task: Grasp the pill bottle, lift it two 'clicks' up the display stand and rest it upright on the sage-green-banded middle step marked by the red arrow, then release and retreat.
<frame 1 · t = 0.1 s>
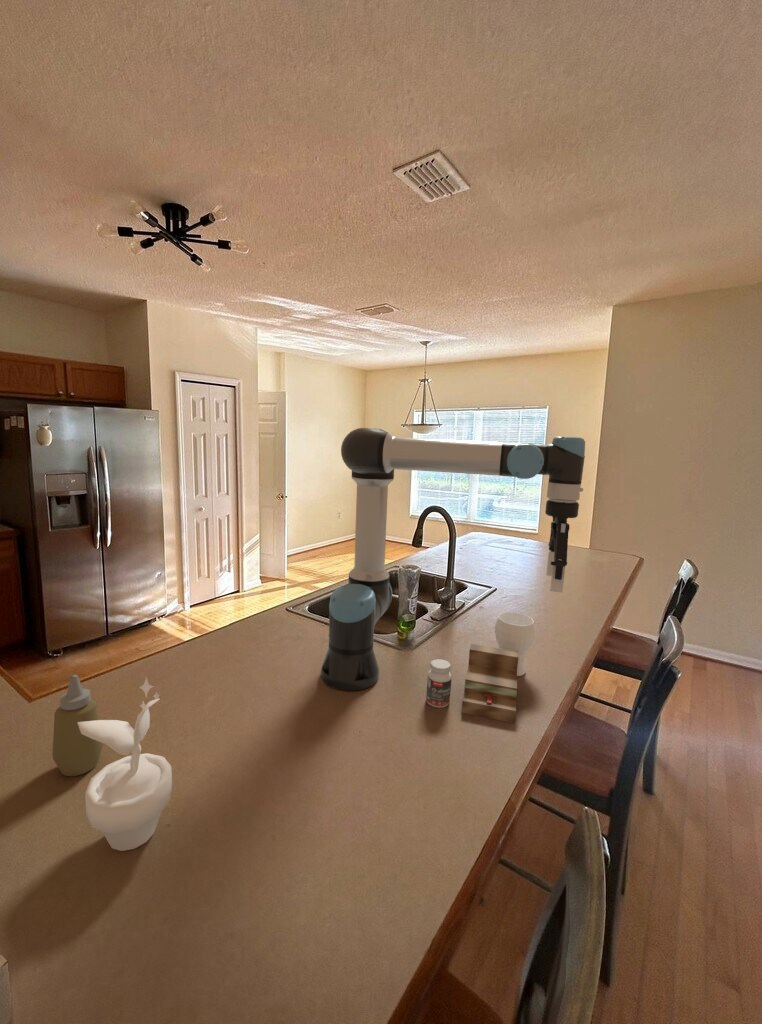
hand: (553, 583, 117), 28 cm above the counter, fingers open, 13 cm apart
display stand: (489, 699, 114), on the counter
pill bottle: (437, 702, 112), on the counter
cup: (511, 670, 129), on the counter
squeeze bottle: (80, 766, 86), on the counter
potted plant: (129, 835, 72), on the counter
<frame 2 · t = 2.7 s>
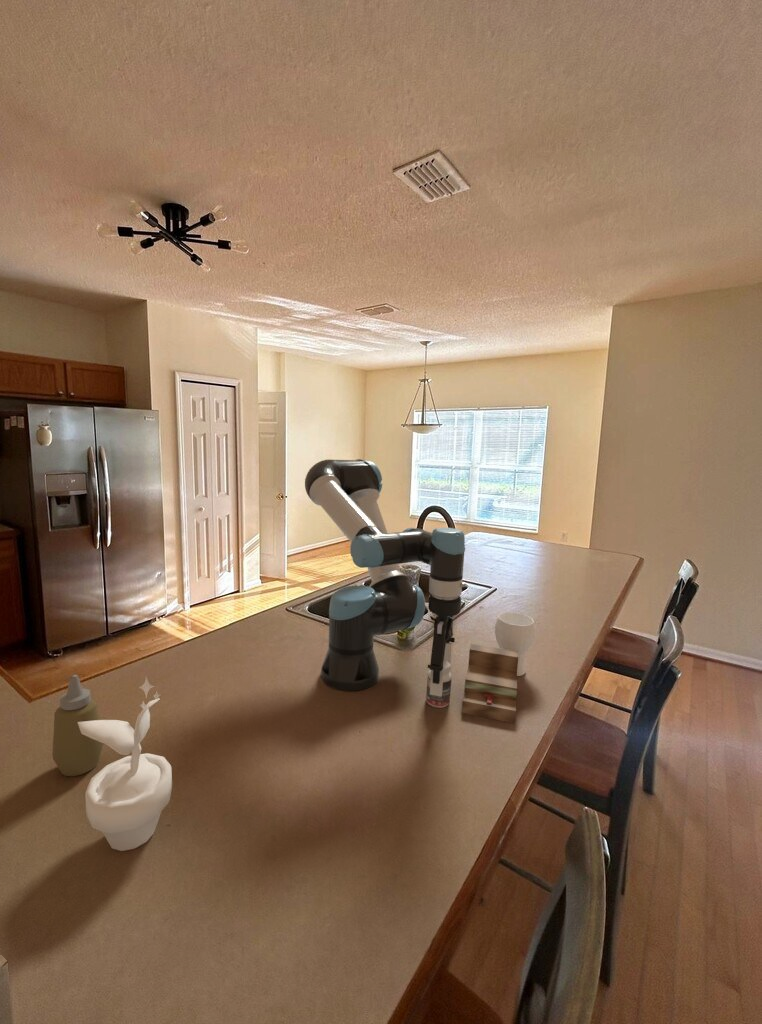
hand: (440, 680, 110), 6 cm above the counter, fingers open, 13 cm apart
nothing on the counter moved.
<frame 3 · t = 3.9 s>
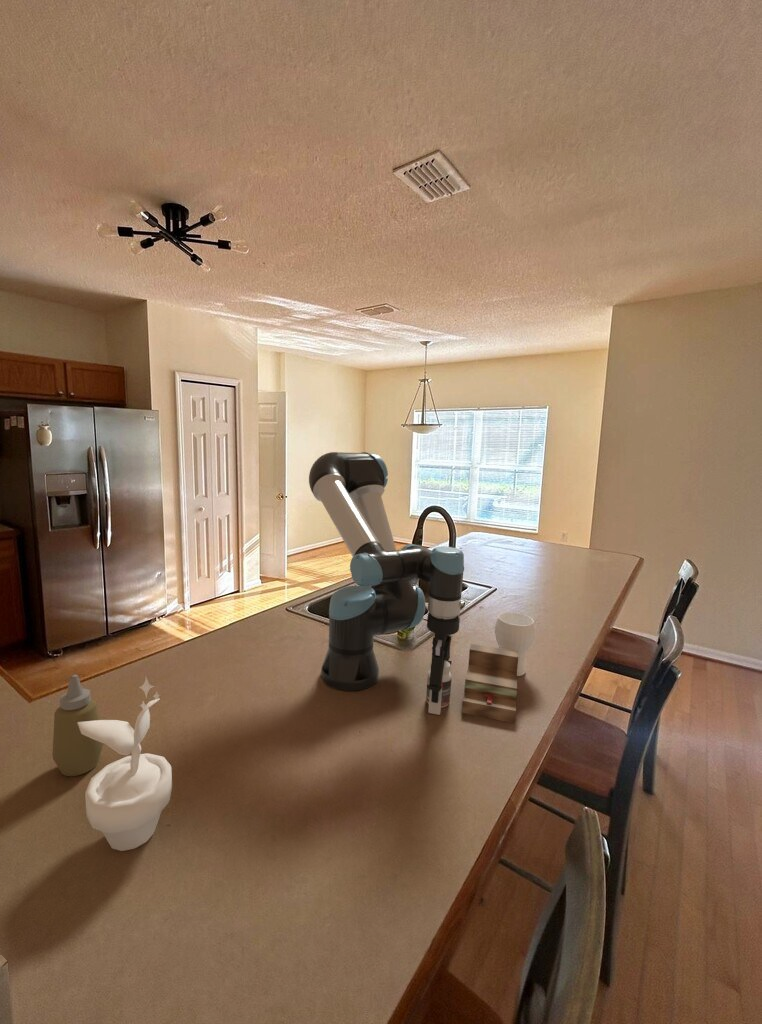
hand: (437, 701, 112), 0 cm above the counter, fingers open, 10 cm apart
nothing on the counter moved.
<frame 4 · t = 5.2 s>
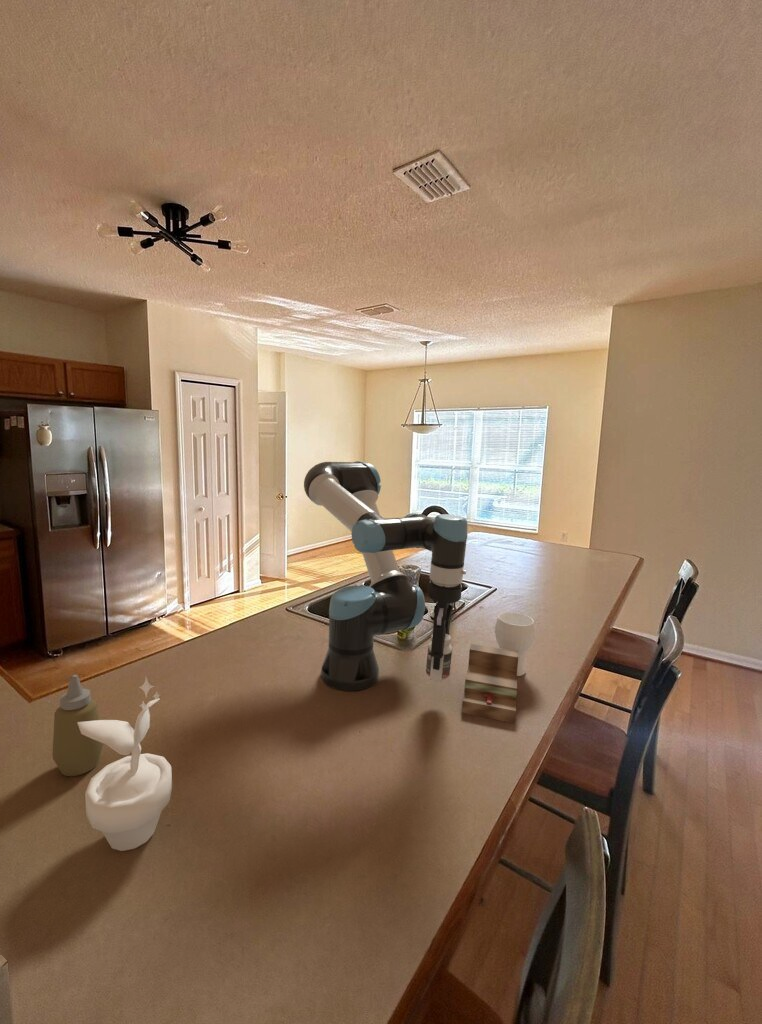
hand: (437, 673, 111), 7 cm above the counter, fingers closed on pill bottle, 6 cm apart
pill bottle: (437, 675, 111), point 7 cm above the counter, touching gripper
everything else where it was.
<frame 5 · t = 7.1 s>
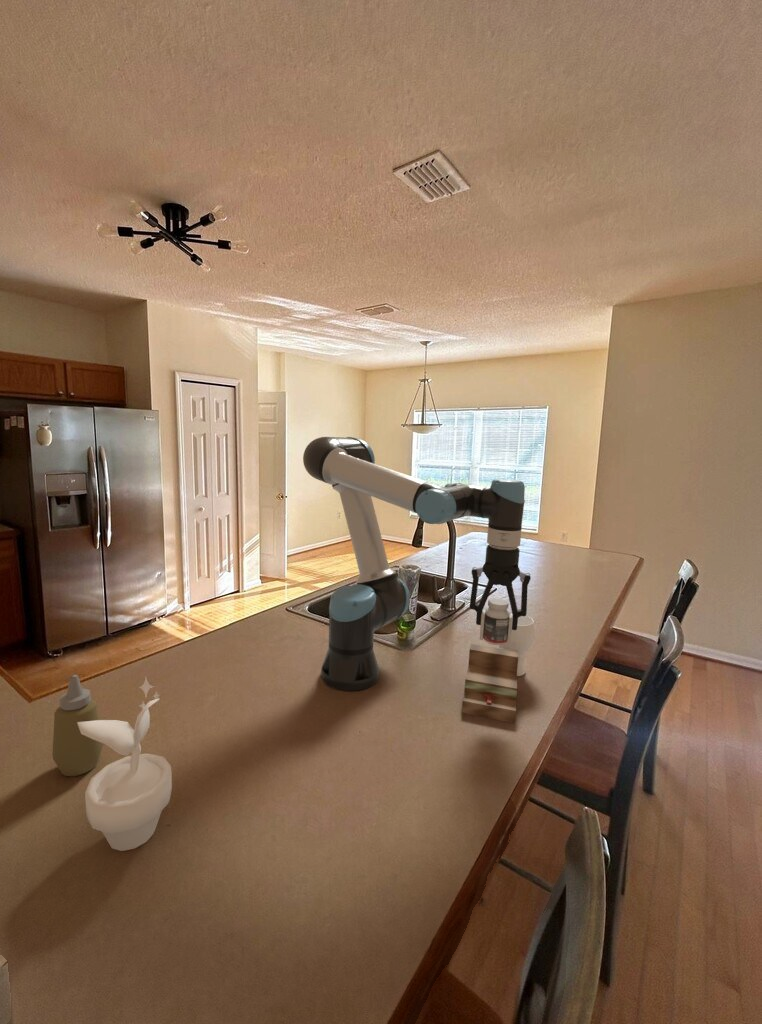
hand: (495, 639, 111), 16 cm above the counter, fingers closed on pill bottle, 6 cm apart
pill bottle: (494, 641, 111), point 15 cm above the counter, touching gripper
everything else where it was.
when the fingers open (7 cm above the counter, at t = 9.3 s): pill bottle stays where it is, resting on display stand.
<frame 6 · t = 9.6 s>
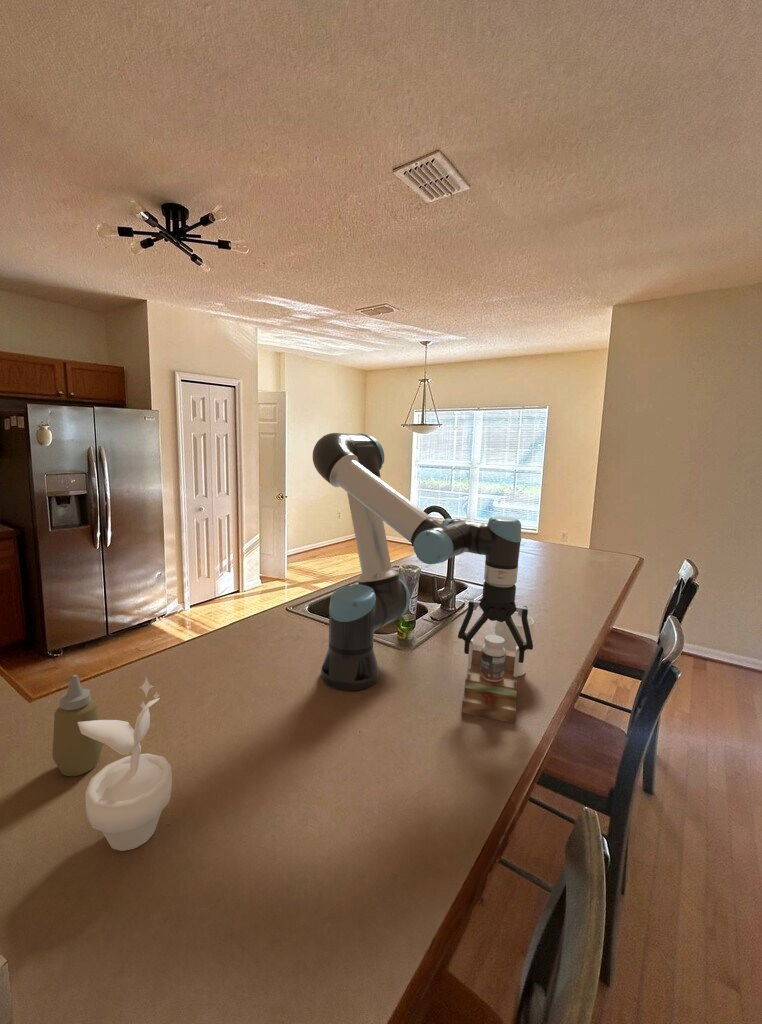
hand: (492, 669, 113), 8 cm above the counter, fingers open, 10 cm apart
pill bottle: (491, 677, 113), point 6 cm above the counter, touching display stand
everything else where it was.
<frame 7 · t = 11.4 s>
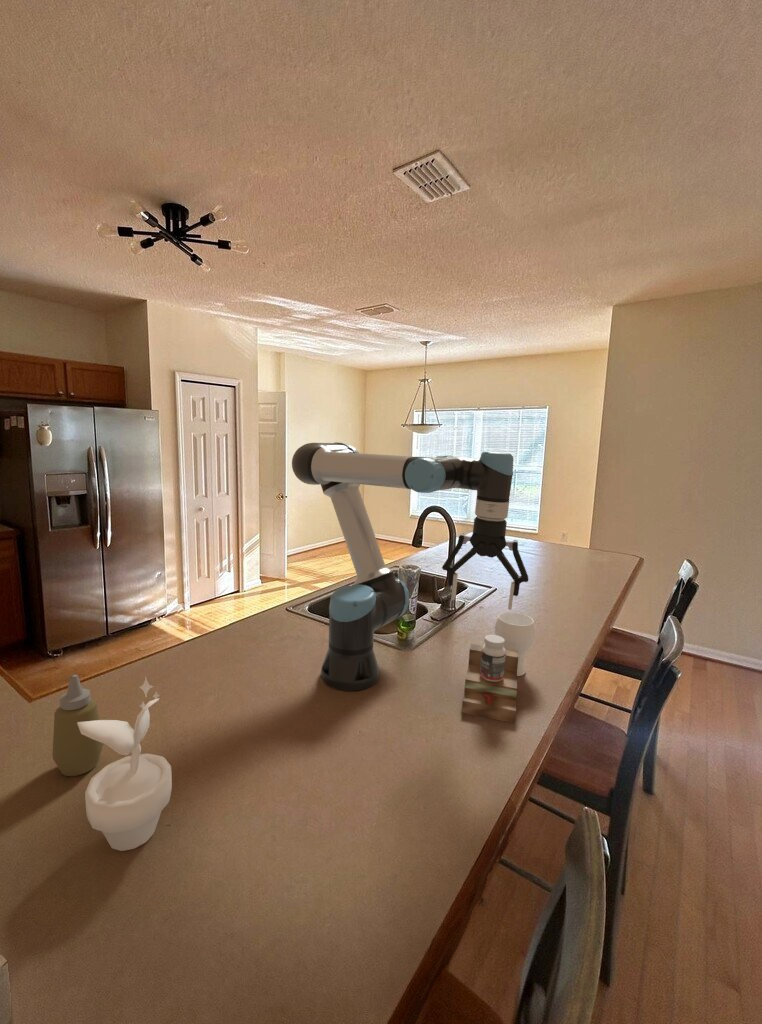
hand: (481, 603, 113), 24 cm above the counter, fingers open, 13 cm apart
nothing on the counter moved.
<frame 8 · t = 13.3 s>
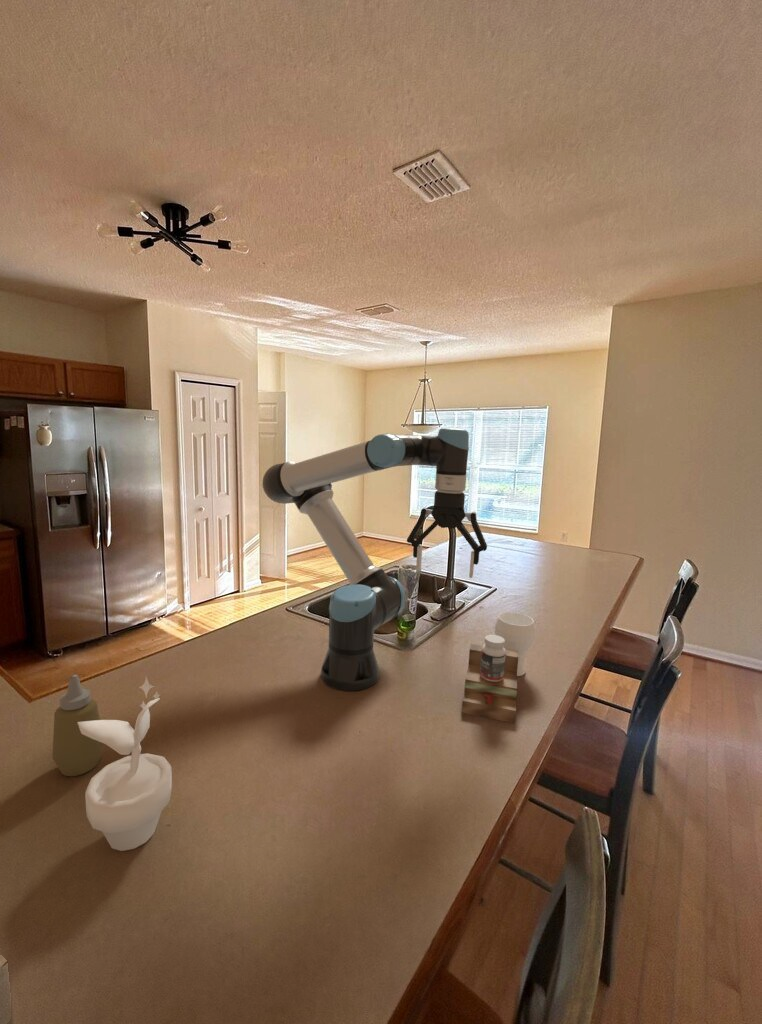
hand: (444, 573, 119), 29 cm above the counter, fingers open, 13 cm apart
nothing on the counter moved.
at the end: pill bottle inside the target area on the display stand (0.5 cm from its centre), point 5.8 cm above the display stand's base; pill bottle tilted 0°; the gripper is holding nothing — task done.
